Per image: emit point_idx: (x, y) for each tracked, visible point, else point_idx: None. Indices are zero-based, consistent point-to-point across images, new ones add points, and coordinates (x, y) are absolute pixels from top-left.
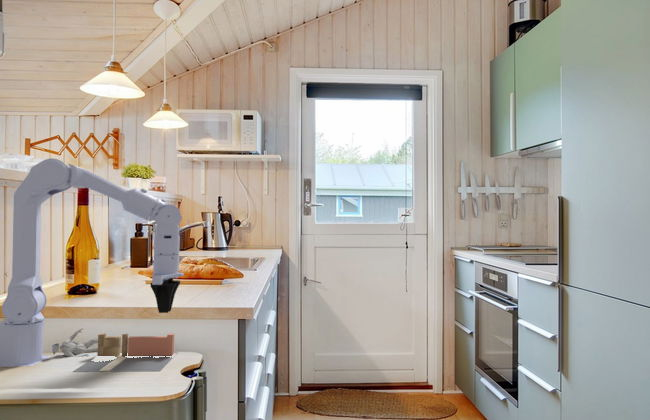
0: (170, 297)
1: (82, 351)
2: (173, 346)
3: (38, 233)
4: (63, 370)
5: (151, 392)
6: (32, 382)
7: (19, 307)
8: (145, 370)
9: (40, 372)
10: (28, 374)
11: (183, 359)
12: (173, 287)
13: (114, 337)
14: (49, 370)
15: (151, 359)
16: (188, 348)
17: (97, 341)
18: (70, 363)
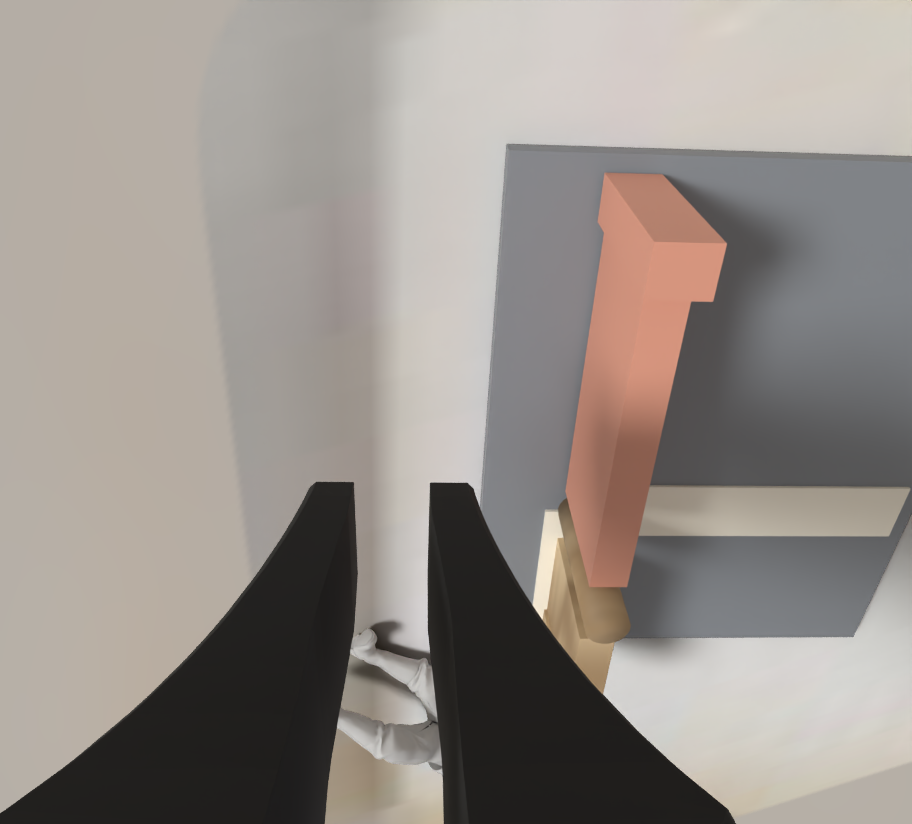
0: (543, 633)
1: None
2: (638, 196)
3: None
4: (745, 678)
5: None
6: (902, 709)
7: None
8: None
9: (750, 737)
10: (768, 759)
11: (670, 53)
12: (659, 797)
13: (608, 663)
14: (727, 721)
15: (711, 317)
16: (263, 87)
17: (376, 726)
18: (621, 694)
